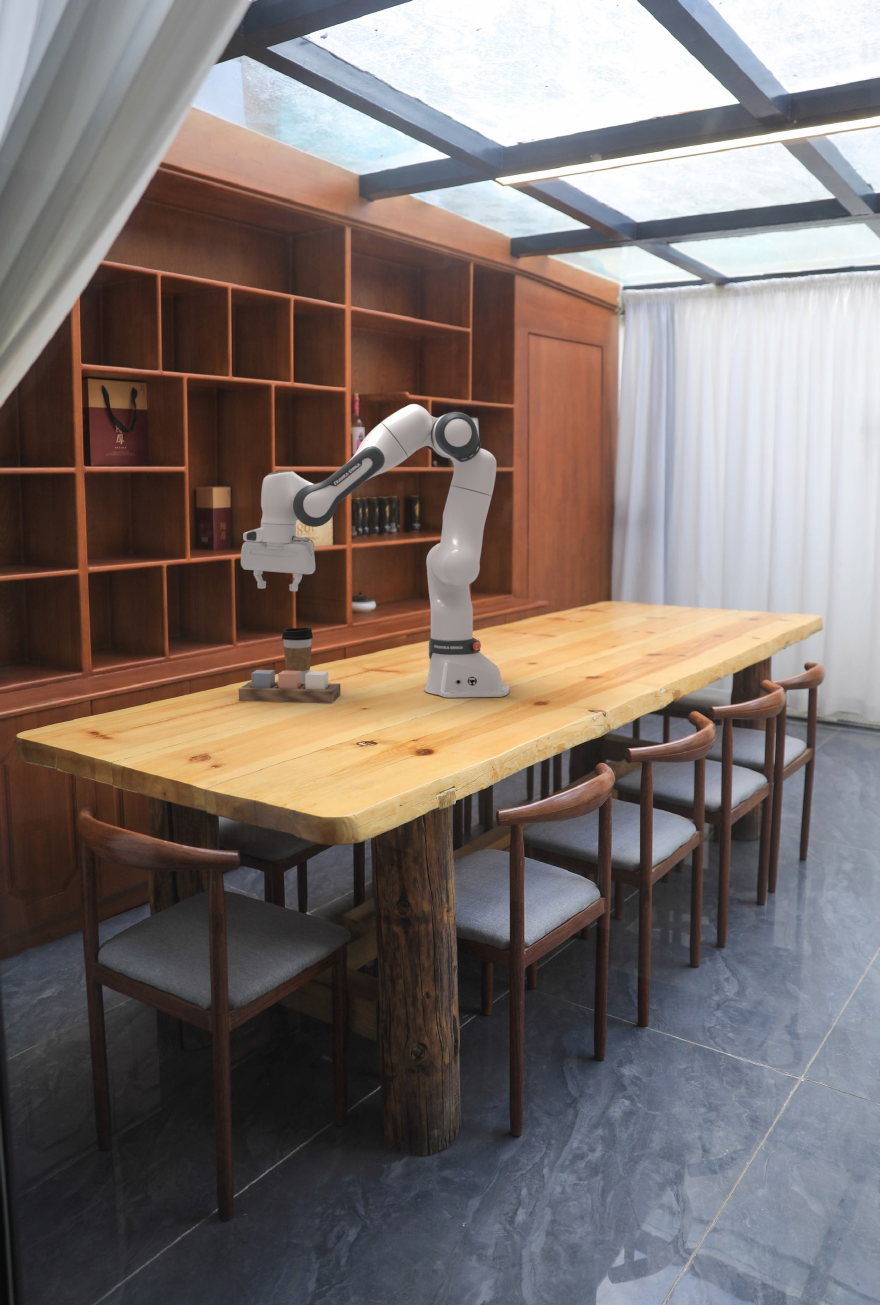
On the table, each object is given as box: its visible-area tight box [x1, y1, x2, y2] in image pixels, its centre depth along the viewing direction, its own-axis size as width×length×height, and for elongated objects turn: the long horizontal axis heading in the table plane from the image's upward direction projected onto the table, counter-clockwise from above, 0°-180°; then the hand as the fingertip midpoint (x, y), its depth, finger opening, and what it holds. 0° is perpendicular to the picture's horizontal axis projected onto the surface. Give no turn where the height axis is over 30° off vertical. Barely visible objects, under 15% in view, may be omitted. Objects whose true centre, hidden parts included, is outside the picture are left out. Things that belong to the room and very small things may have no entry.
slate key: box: [250, 669, 276, 688], centre depth 261 cm, size 5×5×4 cm
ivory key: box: [305, 670, 329, 690], centre depth 259 cm, size 5×5×4 cm
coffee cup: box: [281, 627, 314, 683], centre depth 279 cm, size 8×8×15 cm
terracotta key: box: [277, 669, 302, 689], centre depth 260 cm, size 5×5×4 cm
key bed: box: [238, 680, 341, 704], centre depth 260 cm, size 24×10×3 cm, turn 84°
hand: (277, 589), depth 260 cm, fingers open, 8 cm apart
